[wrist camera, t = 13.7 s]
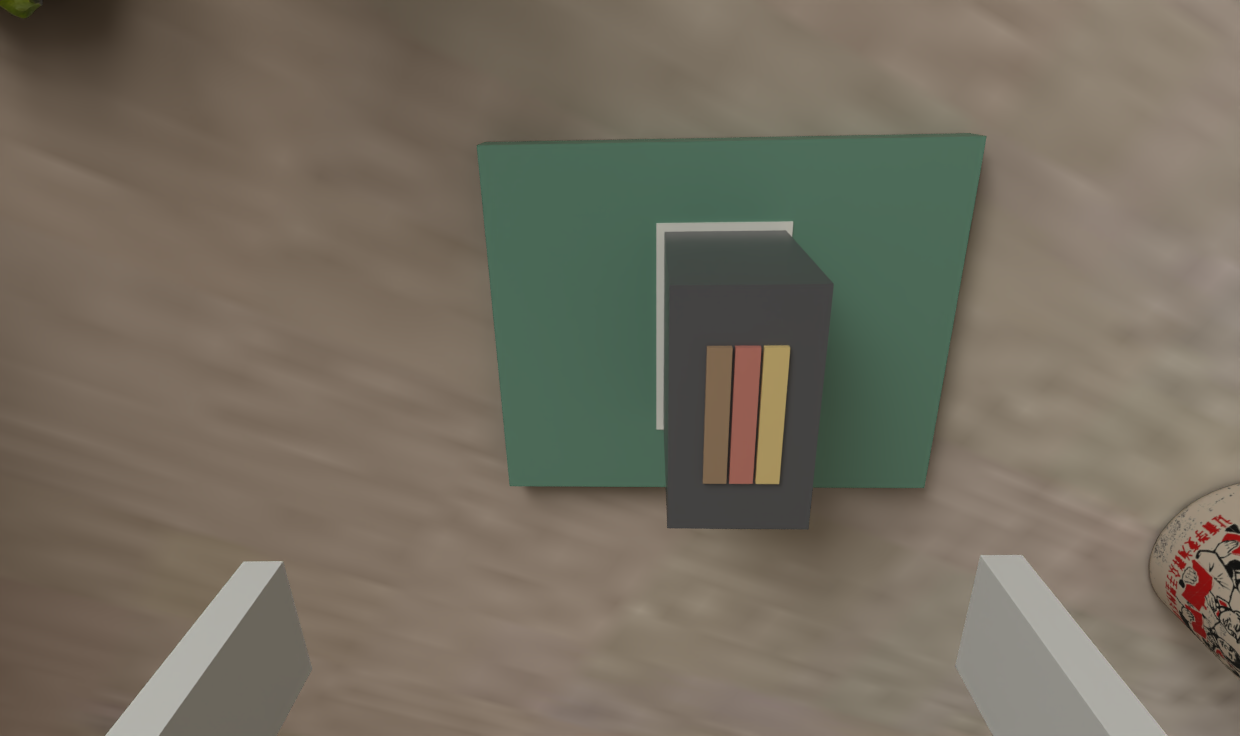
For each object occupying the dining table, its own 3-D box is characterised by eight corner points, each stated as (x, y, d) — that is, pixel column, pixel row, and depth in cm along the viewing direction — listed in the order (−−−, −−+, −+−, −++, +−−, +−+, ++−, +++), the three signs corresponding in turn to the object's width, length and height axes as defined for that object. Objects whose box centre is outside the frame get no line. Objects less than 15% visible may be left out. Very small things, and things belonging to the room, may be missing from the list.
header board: (515, 470, 35) (497, 522, 31) (484, 142, 29) (457, 153, 25) (913, 471, 34) (949, 525, 30) (969, 133, 28) (1025, 142, 24)
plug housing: (663, 424, 32) (667, 531, 24) (664, 231, 29) (669, 287, 21) (771, 424, 32) (809, 532, 24) (786, 230, 28) (835, 285, 21)
